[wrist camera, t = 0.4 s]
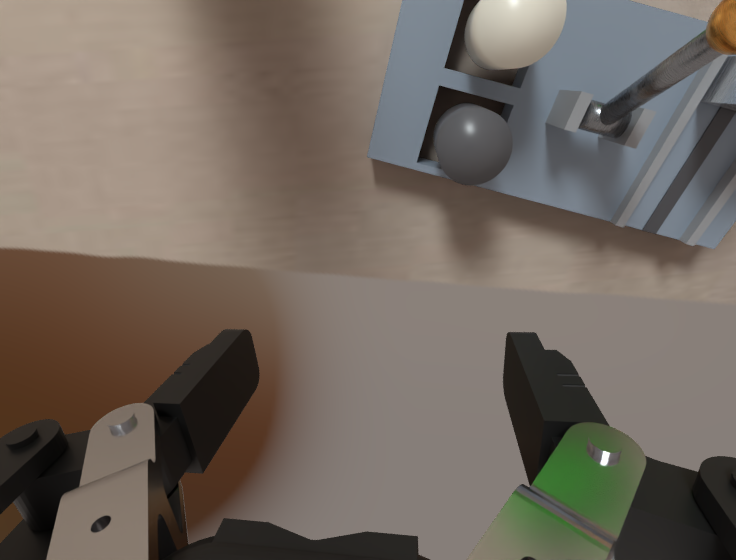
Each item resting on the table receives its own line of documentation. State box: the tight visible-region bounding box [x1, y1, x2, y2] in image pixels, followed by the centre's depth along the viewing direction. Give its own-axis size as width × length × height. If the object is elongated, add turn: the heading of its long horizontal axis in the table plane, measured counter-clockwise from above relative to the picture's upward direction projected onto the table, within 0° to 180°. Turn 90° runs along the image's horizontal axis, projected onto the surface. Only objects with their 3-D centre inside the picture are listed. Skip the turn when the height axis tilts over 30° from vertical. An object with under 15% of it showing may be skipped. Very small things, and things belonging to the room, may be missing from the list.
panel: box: [367, 0, 736, 249], centre depth 24 cm, size 12×26×6 cm, turn 77°
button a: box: [464, 0, 567, 70], centre depth 20 cm, size 4×4×5 cm
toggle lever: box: [578, 0, 736, 139], centre depth 18 cm, size 2×2×10 cm
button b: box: [433, 103, 513, 185], centre depth 23 cm, size 4×4×5 cm
